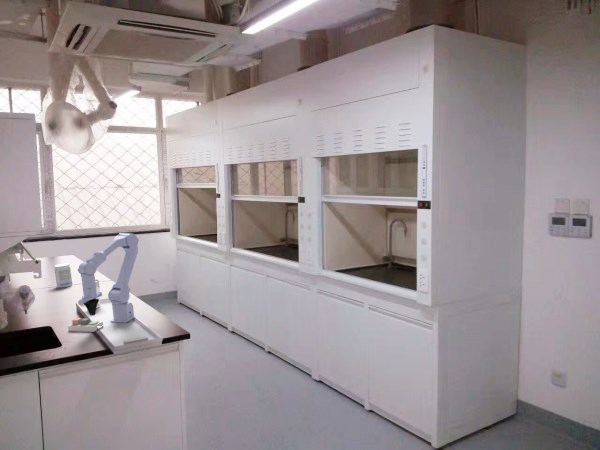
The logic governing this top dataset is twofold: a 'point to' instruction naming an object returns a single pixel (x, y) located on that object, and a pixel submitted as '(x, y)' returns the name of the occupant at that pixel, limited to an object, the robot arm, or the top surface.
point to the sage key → (93, 323)
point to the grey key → (85, 321)
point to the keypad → (84, 327)
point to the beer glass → (97, 291)
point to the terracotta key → (76, 321)
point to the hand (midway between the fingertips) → (92, 314)
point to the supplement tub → (63, 275)
